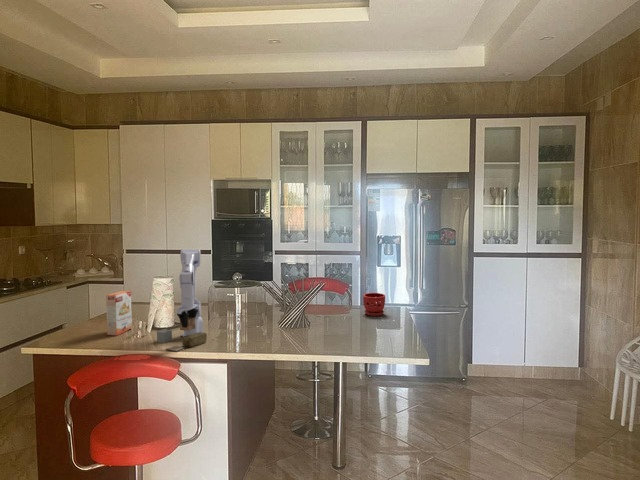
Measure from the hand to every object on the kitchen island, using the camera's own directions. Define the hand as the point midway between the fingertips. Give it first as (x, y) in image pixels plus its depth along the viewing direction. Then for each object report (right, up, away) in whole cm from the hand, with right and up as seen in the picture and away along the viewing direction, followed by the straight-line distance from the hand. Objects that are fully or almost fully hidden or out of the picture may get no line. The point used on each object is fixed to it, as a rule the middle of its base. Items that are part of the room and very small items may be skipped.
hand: (188, 325), depth 237 cm
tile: (-3, -9, -7) cm, 12 cm away
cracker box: (-42, -8, +24) cm, 49 cm away
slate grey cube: (-13, -9, +7) cm, 17 cm away
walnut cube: (0, -2, 0) cm, 2 cm away
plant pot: (+95, -4, +63) cm, 114 cm away
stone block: (+3, -9, +1) cm, 10 cm away
